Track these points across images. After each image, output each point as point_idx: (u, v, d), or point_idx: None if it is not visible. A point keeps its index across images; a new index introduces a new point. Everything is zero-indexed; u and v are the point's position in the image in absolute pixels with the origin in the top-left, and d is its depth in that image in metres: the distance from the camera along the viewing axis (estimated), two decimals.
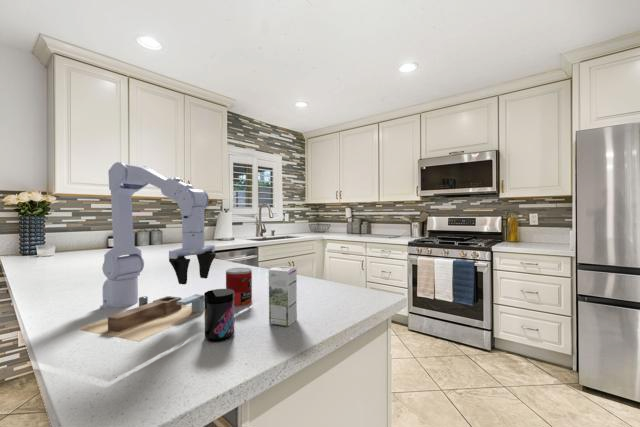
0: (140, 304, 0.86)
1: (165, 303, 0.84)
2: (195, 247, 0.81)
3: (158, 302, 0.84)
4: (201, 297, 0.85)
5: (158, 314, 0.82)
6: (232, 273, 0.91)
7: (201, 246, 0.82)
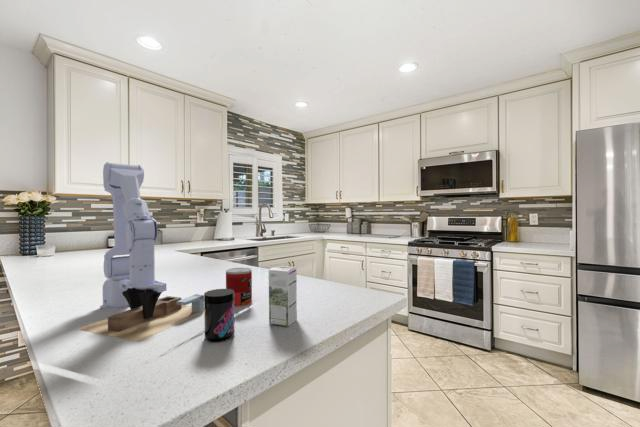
0: None
1: (165, 303, 0.84)
2: (129, 282, 0.77)
3: (158, 302, 0.84)
4: (201, 297, 0.85)
5: (158, 314, 0.82)
6: (232, 273, 0.91)
7: (132, 282, 0.76)
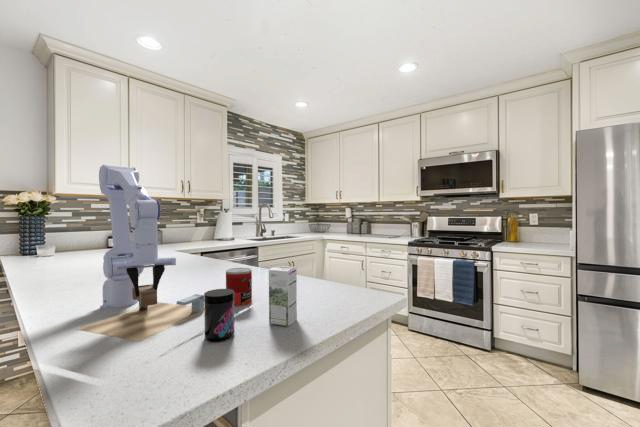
0: None
1: (152, 286, 0.86)
2: (139, 260, 0.78)
3: (144, 287, 0.85)
4: (201, 297, 0.85)
5: None
6: (232, 273, 0.91)
7: (147, 259, 0.78)
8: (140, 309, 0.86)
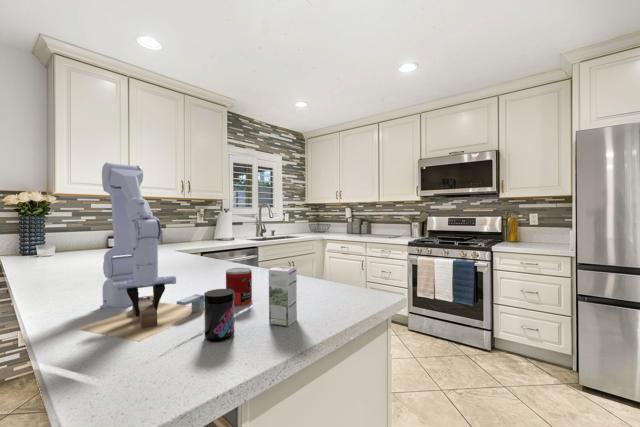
0: None
1: (152, 300, 0.86)
2: (139, 280, 0.78)
3: (145, 301, 0.85)
4: (201, 297, 0.85)
5: None
6: (232, 273, 0.91)
7: (147, 279, 0.78)
8: None
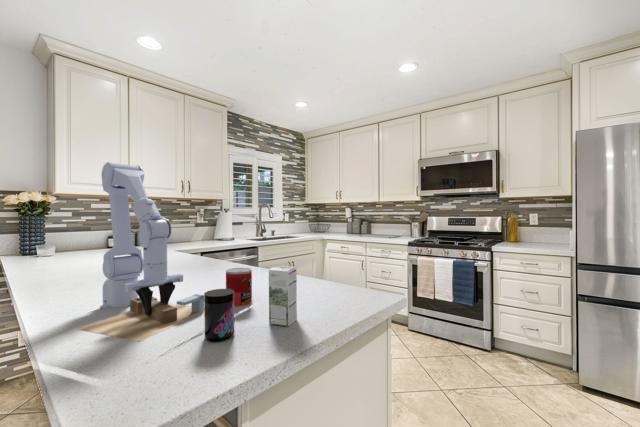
0: None
1: (155, 299, 0.87)
2: (153, 279, 0.80)
3: None
4: (201, 297, 0.85)
5: None
6: (232, 273, 0.91)
7: (160, 278, 0.81)
8: None
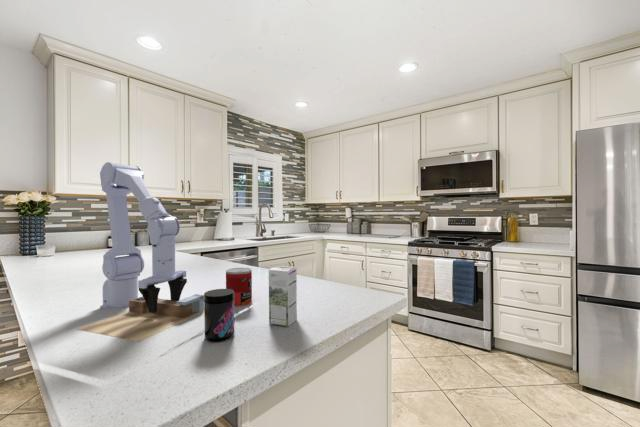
0: None
1: None
2: (165, 275, 0.82)
3: None
4: (201, 297, 0.85)
5: None
6: (232, 273, 0.91)
7: (172, 274, 0.84)
8: None
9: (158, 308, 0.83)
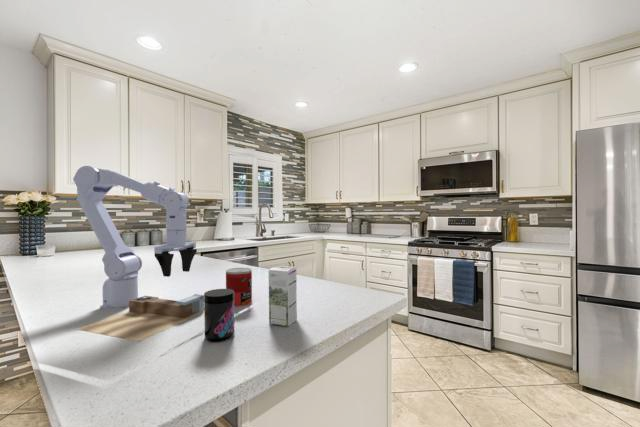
0: None
1: None
2: (178, 243, 0.91)
3: (152, 299, 0.86)
4: (201, 297, 0.85)
5: None
6: (232, 273, 0.91)
7: (183, 243, 0.93)
8: None
9: (158, 308, 0.83)
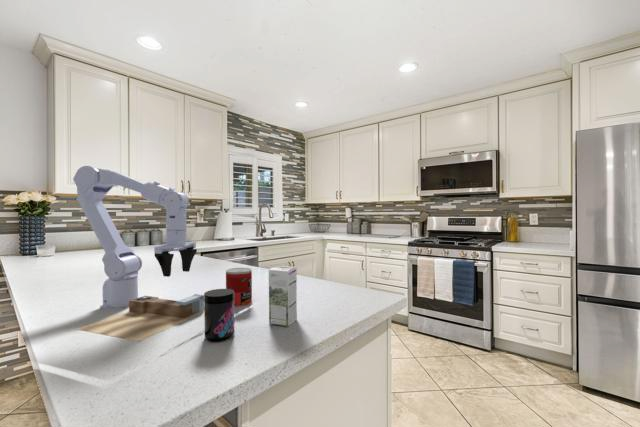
0: None
1: None
2: (178, 243, 0.91)
3: (152, 299, 0.86)
4: (201, 297, 0.85)
5: None
6: (232, 273, 0.91)
7: (183, 243, 0.93)
8: None
9: (158, 308, 0.83)
